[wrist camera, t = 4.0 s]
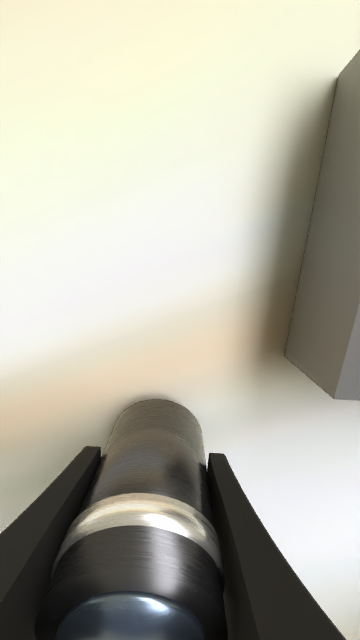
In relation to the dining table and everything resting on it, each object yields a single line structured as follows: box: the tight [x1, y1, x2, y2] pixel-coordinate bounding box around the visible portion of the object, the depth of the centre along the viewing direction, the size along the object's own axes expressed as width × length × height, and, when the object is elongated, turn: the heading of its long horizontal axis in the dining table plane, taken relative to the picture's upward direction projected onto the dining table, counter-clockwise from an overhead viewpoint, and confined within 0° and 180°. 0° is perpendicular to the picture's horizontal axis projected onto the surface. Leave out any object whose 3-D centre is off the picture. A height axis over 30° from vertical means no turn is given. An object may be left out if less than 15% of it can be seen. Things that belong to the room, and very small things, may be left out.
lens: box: [34, 399, 228, 640], centre depth 8 cm, size 5×5×6 cm
